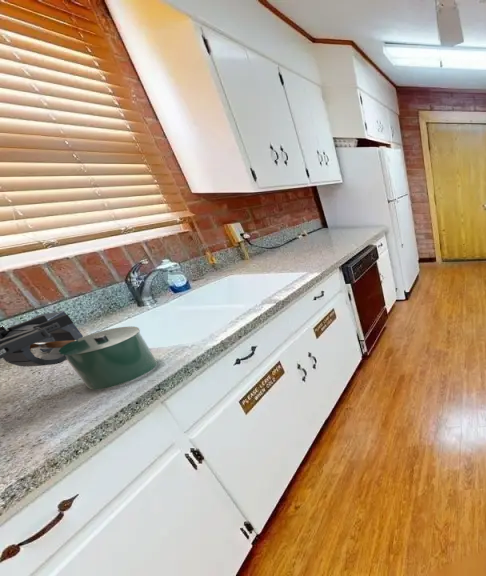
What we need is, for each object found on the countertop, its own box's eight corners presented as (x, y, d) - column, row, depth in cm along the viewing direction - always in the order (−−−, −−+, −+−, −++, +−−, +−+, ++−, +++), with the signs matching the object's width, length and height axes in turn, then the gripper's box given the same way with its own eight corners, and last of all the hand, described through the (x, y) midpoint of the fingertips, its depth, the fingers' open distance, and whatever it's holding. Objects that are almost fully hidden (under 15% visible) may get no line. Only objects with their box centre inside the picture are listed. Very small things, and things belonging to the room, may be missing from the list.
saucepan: (9, 398, 77) (-28, 356, 71) (73, 364, 89) (45, 327, 84) (126, 389, 80) (99, 349, 75) (173, 358, 92) (152, 322, 87)
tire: (39, 373, 76) (10, 338, 72) (17, 375, 76) (-14, 339, 71) (89, 348, 86) (66, 316, 82) (70, 349, 86) (46, 317, 81)
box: (58, 341, 100) (38, 314, 96) (84, 336, 103) (64, 310, 99) (41, 353, 94) (18, 324, 90) (69, 347, 97) (47, 319, 92)
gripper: (-125, 392, 61) (28, 332, 82) (-22, 386, 63) (101, 328, 84) (-158, 364, 58) (10, 309, 79) (-49, 358, 60) (86, 305, 81)
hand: (57, 319), depth 82 cm, fingers closed on tire, 5 cm apart
